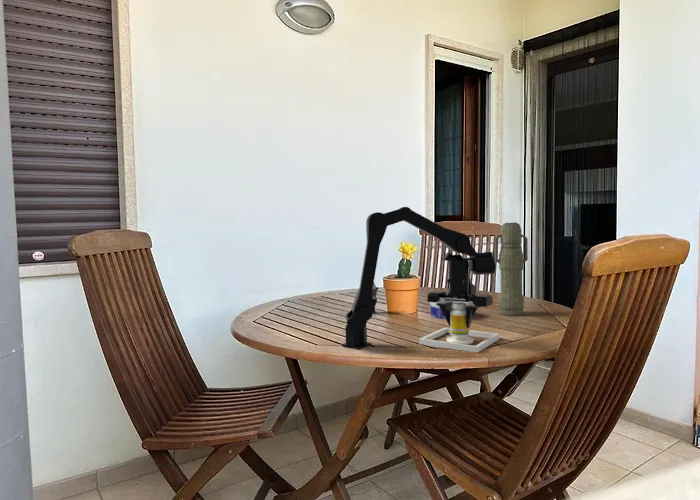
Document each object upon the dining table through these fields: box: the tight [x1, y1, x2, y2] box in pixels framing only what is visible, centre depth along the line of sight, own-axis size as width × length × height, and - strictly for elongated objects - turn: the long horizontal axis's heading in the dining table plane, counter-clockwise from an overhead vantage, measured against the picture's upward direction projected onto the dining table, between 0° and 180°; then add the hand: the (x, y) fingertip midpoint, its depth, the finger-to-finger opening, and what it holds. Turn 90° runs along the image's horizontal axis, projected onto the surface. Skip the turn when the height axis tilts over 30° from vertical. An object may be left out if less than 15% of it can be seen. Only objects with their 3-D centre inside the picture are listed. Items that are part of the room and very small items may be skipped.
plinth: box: [445, 335, 475, 345], centre depth 142 cm, size 8×8×1 cm
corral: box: [418, 327, 501, 353], centre depth 142 cm, size 18×18×2 cm
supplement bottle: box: [449, 303, 470, 337], centre depth 142 cm, size 5×5×10 cm
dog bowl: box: [429, 298, 469, 320], centre depth 182 cm, size 15×15×6 cm
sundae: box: [372, 282, 380, 315], centre depth 191 cm, size 7×7×15 cm
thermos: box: [494, 222, 529, 317], centre depth 181 cm, size 9×12×35 cm
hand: (459, 326), depth 142 cm, fingers closed on supplement bottle, 5 cm apart
